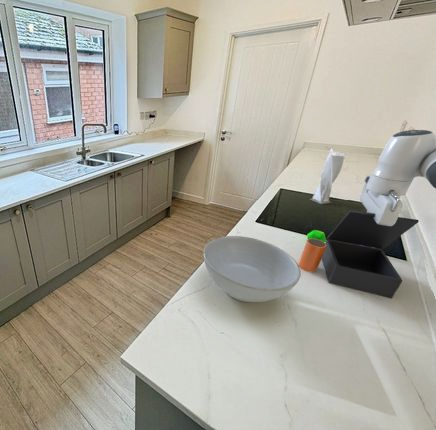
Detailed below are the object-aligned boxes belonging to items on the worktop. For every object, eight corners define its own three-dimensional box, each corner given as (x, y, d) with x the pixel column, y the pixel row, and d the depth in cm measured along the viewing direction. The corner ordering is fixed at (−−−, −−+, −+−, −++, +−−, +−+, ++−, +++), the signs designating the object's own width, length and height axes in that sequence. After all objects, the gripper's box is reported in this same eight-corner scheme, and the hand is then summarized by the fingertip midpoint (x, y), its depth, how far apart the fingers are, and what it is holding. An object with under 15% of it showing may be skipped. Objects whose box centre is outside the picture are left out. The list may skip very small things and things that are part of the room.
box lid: (418, 222, 75) (418, 219, 75) (350, 211, 81) (350, 209, 82) (382, 249, 90) (382, 247, 90) (327, 238, 96) (327, 237, 96)
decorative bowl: (203, 257, 101) (207, 230, 96) (282, 272, 92) (292, 244, 87) (194, 306, 79) (199, 275, 74) (296, 333, 70) (311, 300, 65)
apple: (317, 231, 102) (326, 223, 107) (300, 235, 108) (309, 228, 112) (326, 247, 101) (335, 239, 106) (309, 250, 107) (318, 243, 111)
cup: (314, 266, 95) (325, 240, 90) (317, 275, 90) (328, 249, 85) (296, 262, 97) (305, 237, 92) (298, 270, 93) (307, 244, 88)
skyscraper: (307, 198, 147) (324, 148, 135) (318, 196, 149) (336, 147, 137) (321, 204, 140) (340, 152, 127) (332, 202, 142) (353, 151, 129)
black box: (390, 300, 80) (402, 280, 76) (327, 284, 86) (336, 266, 83) (372, 267, 94) (382, 249, 90) (319, 256, 100) (326, 239, 97)
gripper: (416, 199, 70) (392, 243, 76) (389, 177, 86) (371, 214, 92) (385, 196, 73) (365, 238, 79) (364, 174, 89) (348, 211, 95)
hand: (368, 225), depth 86 cm, fingers closed
